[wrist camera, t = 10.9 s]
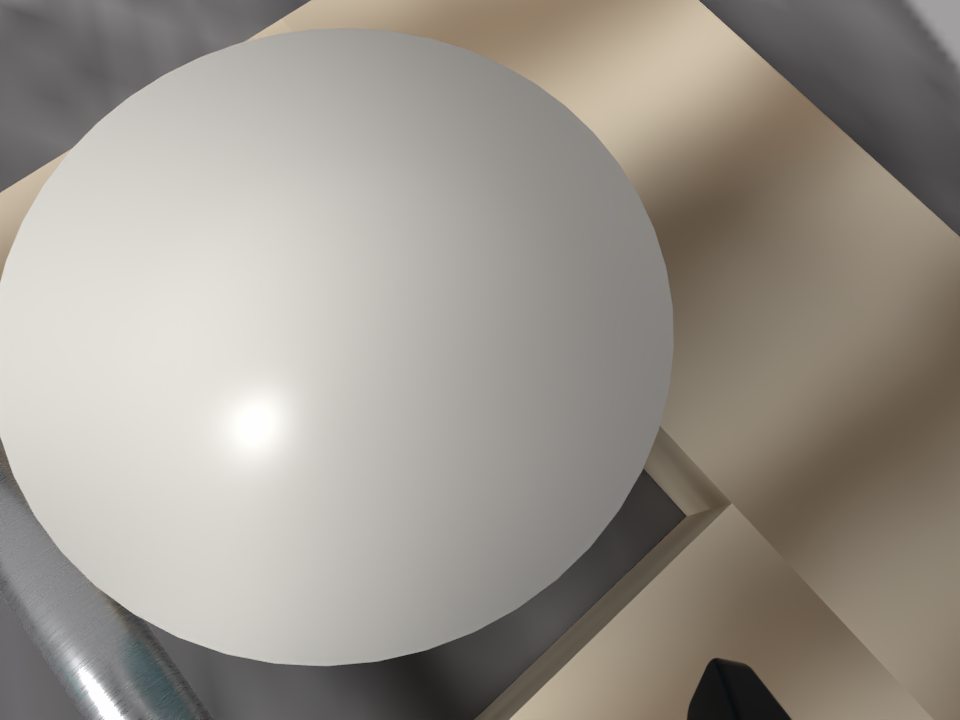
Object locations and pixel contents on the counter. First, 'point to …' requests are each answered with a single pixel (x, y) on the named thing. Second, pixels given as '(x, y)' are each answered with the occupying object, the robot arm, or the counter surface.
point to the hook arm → (84, 626)
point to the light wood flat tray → (746, 374)
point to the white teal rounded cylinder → (332, 346)
